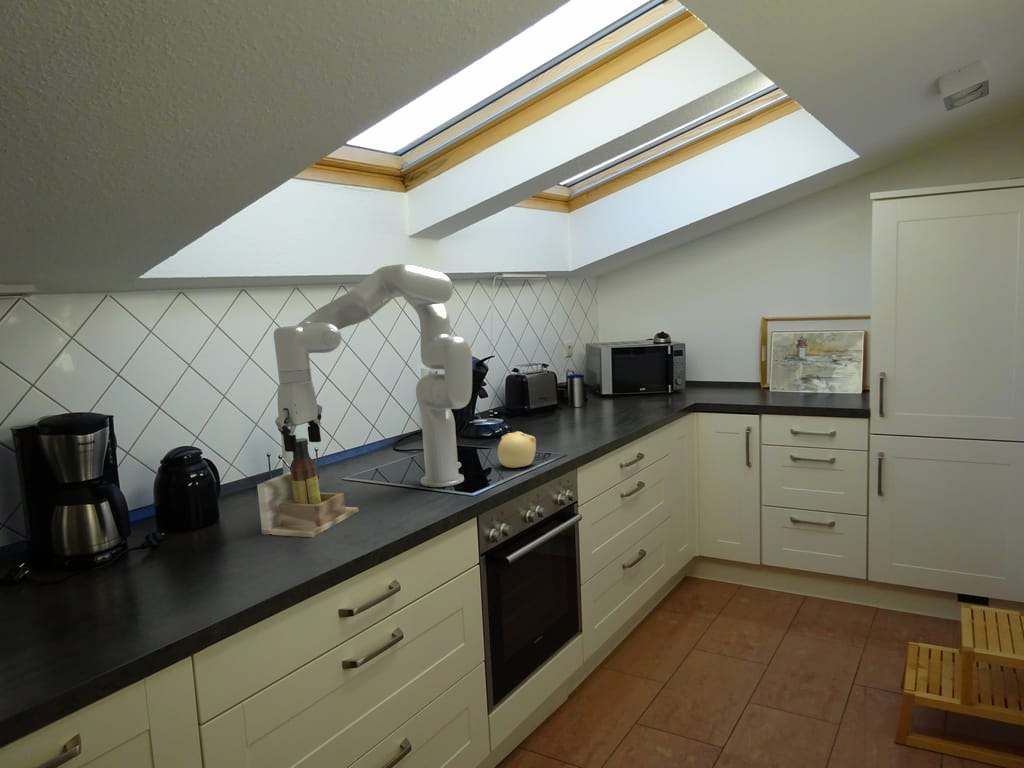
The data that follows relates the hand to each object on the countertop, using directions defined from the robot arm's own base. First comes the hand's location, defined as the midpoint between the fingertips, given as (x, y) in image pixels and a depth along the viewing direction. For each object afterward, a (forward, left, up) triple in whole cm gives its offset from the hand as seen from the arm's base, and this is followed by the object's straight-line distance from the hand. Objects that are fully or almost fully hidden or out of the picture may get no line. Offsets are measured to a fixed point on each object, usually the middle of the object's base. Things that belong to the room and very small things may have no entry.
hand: (303, 446), depth 174 cm
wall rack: (+1, +1, -19) cm, 19 cm away
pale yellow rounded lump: (-60, +34, -19) cm, 72 cm away
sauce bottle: (0, 0, -18) cm, 18 cm away
